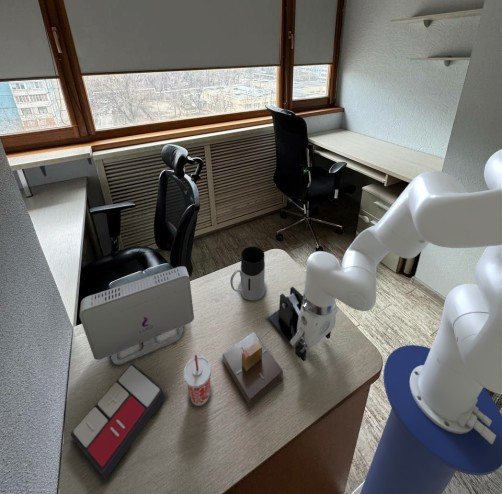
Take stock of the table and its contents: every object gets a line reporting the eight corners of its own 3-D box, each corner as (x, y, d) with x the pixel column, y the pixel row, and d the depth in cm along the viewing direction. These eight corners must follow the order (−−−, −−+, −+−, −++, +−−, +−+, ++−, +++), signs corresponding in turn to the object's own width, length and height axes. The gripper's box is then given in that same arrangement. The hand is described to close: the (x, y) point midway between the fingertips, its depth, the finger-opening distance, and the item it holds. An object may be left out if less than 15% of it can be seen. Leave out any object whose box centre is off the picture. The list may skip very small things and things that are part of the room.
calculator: (68, 432, 54) (131, 360, 66) (74, 441, 56) (134, 370, 68) (100, 472, 49) (162, 387, 61) (106, 481, 51) (165, 397, 63)
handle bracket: (311, 330, 78) (315, 301, 73) (291, 347, 73) (294, 317, 69) (287, 305, 85) (289, 277, 81) (268, 319, 81) (269, 290, 76)
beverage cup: (182, 406, 61) (176, 368, 56) (192, 376, 67) (187, 339, 61) (208, 412, 60) (204, 374, 55) (216, 381, 66) (213, 344, 60)
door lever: (315, 340, 73) (322, 340, 71) (307, 347, 71) (313, 347, 69) (290, 294, 78) (295, 291, 76) (282, 299, 76) (287, 297, 74)
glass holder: (270, 288, 91) (272, 253, 85) (242, 317, 81) (241, 280, 76) (251, 274, 97) (251, 241, 91) (222, 300, 87) (220, 265, 81)
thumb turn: (257, 352, 69) (257, 340, 67) (261, 358, 68) (262, 346, 66) (241, 365, 66) (241, 352, 65) (245, 371, 65) (245, 359, 63)
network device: (96, 375, 67) (76, 320, 59) (98, 343, 74) (80, 290, 66) (196, 331, 77) (191, 280, 69) (189, 307, 84) (183, 258, 77)
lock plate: (282, 377, 67) (283, 369, 65) (249, 407, 61) (249, 399, 60) (253, 338, 76) (253, 330, 74) (222, 361, 70) (222, 353, 69)
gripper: (305, 331, 58) (300, 379, 65) (353, 291, 67) (344, 337, 74) (282, 306, 63) (279, 352, 70) (329, 273, 73) (322, 316, 80)
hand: (312, 344), depth 72 cm, fingers open, 9 cm apart
